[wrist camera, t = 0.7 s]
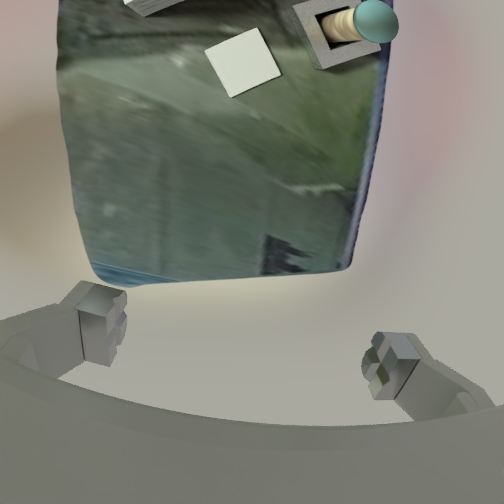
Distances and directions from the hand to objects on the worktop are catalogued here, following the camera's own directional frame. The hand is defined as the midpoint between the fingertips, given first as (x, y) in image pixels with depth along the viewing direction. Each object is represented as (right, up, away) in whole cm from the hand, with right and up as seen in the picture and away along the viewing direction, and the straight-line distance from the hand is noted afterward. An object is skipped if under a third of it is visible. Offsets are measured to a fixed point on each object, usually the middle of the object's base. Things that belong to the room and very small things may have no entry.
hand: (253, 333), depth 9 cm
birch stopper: (+13, +39, +31) cm, 51 cm away
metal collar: (+13, +39, +31) cm, 51 cm away
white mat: (-1, +32, +33) cm, 46 cm away
